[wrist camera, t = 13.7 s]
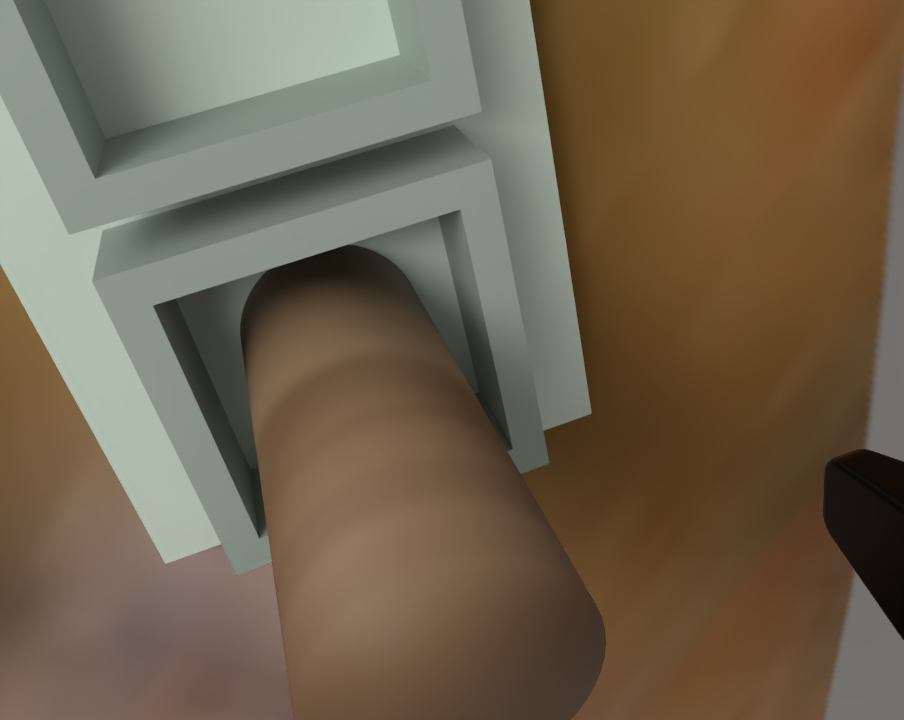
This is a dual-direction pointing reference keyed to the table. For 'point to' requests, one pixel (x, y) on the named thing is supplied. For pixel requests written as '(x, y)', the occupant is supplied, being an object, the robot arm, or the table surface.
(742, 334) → the table surface
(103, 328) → the build board
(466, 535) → the dowel
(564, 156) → the table surface
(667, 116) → the table surface
